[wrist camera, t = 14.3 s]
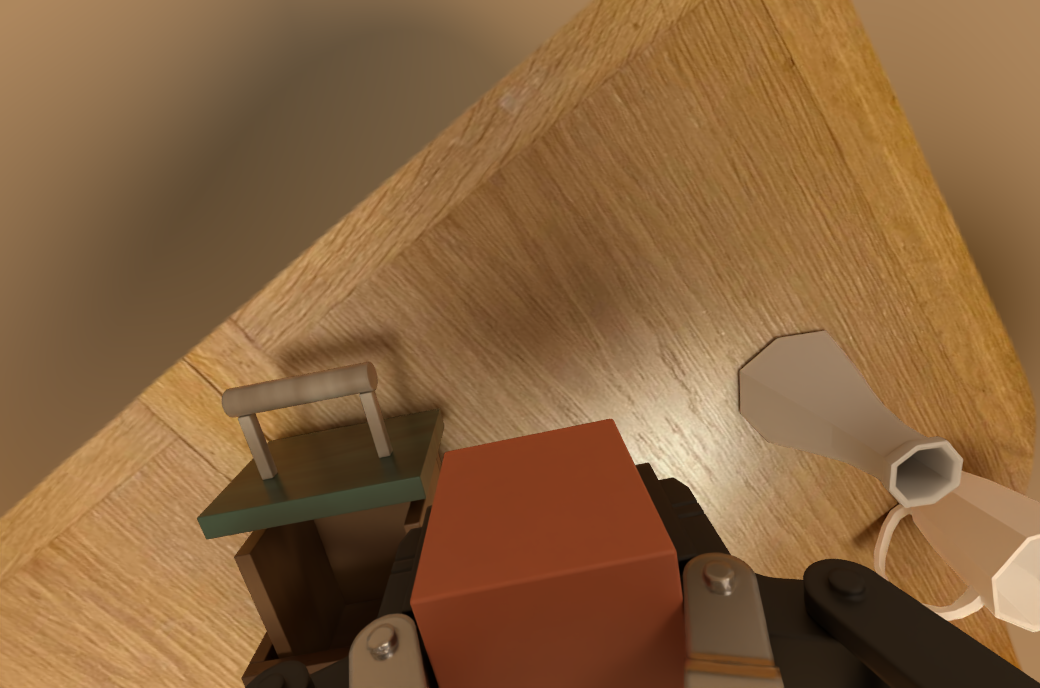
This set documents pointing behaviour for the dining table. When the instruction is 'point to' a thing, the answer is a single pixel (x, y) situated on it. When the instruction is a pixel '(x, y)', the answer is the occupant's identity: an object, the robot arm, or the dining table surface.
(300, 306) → the dining table surface
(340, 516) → the drawer
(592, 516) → the block
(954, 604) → the cup
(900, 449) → the flask
